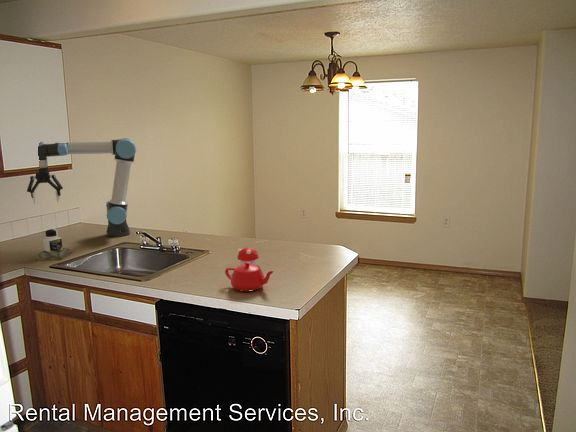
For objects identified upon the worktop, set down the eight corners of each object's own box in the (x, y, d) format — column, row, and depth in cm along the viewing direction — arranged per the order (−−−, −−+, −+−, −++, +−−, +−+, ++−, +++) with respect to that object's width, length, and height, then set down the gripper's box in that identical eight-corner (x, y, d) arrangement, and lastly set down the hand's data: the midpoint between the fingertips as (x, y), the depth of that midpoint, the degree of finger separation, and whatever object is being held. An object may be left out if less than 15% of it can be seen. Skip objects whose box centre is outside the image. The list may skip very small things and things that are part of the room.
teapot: (217, 290, 212) (215, 264, 210) (234, 279, 226) (233, 255, 224) (267, 298, 202) (266, 270, 200) (282, 286, 216) (281, 260, 214)
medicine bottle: (50, 252, 264) (48, 232, 261) (44, 250, 268) (41, 230, 265) (63, 250, 269) (60, 229, 267) (56, 248, 273) (54, 227, 271)
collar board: (72, 252, 276) (71, 246, 276) (61, 259, 263) (60, 253, 262) (48, 253, 276) (47, 247, 275) (36, 260, 262) (35, 254, 262)
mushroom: (239, 266, 245) (238, 244, 243) (260, 266, 245) (259, 244, 242) (236, 273, 235) (235, 250, 232) (258, 273, 234) (257, 250, 232)
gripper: (65, 165, 287) (70, 199, 291) (22, 168, 286) (29, 202, 290) (60, 166, 280) (65, 201, 284) (16, 169, 278) (23, 204, 283)
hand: (47, 202), depth 287 cm, fingers open, 13 cm apart
